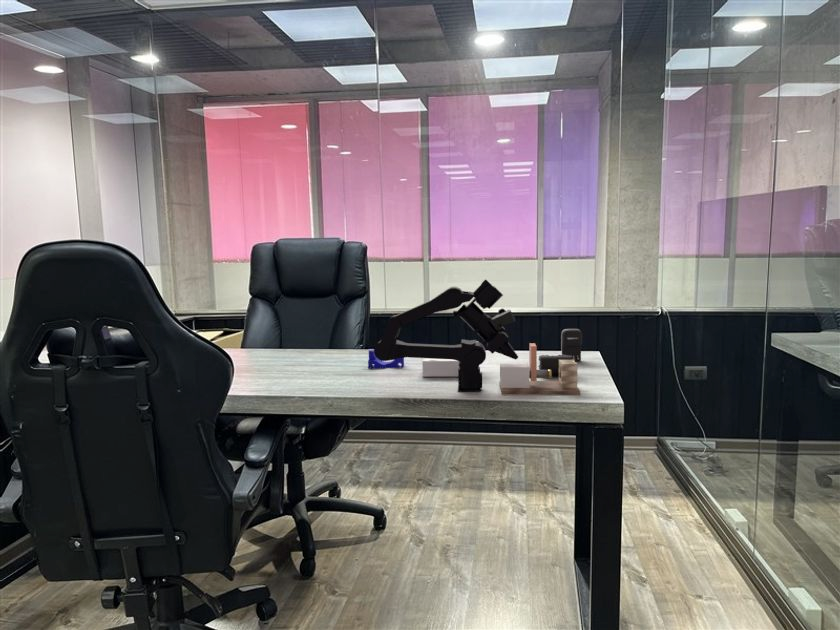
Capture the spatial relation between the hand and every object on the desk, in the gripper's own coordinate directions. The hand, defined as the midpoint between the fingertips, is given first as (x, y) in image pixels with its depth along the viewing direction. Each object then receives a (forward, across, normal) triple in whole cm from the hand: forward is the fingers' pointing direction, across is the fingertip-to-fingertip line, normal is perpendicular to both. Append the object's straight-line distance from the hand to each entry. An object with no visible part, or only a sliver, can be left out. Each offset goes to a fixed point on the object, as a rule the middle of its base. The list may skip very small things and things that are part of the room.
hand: (517, 358), depth 162 cm
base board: (+11, 0, +2) cm, 11 cm away
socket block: (+16, 0, -4) cm, 17 cm away
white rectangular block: (+6, 0, +7) cm, 9 cm away
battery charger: (+22, +40, -9) cm, 47 cm away
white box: (-7, +20, +21) cm, 30 cm away
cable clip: (-24, +31, +37) cm, 54 cm away
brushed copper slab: (+6, 0, +2) cm, 7 cm away
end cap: (+16, +17, -3) cm, 24 cm away
